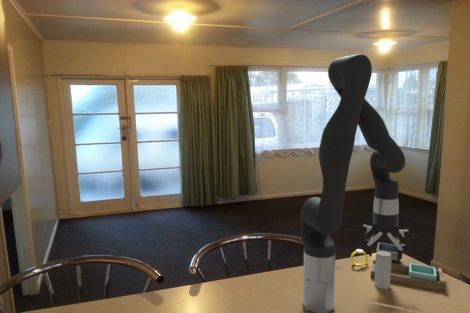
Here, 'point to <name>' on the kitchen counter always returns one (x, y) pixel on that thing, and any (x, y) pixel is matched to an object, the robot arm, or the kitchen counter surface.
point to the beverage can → (383, 269)
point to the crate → (422, 272)
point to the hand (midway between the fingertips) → (384, 257)
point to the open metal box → (391, 249)
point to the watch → (360, 253)
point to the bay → (412, 280)
